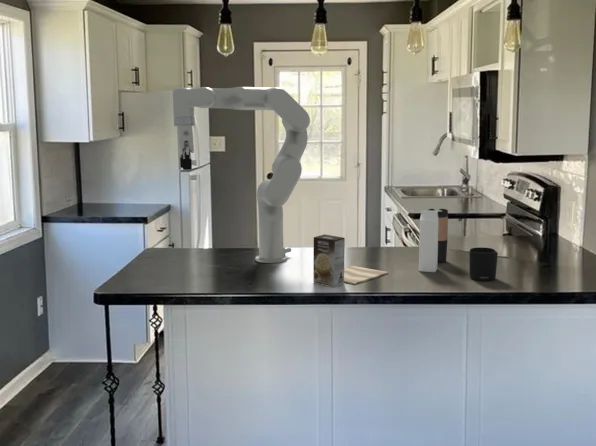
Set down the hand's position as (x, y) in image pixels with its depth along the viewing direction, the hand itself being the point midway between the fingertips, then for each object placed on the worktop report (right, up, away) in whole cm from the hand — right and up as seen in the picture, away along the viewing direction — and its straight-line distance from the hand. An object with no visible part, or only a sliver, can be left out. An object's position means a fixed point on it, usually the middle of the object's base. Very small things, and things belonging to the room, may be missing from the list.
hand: (186, 168), depth 254 cm
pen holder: (+106, -40, -17) cm, 114 cm away
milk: (+89, -38, -4) cm, 97 cm away
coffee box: (+52, -41, -22) cm, 70 cm away
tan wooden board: (+61, -39, -11) cm, 73 cm away
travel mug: (+95, -35, +10) cm, 102 cm away
